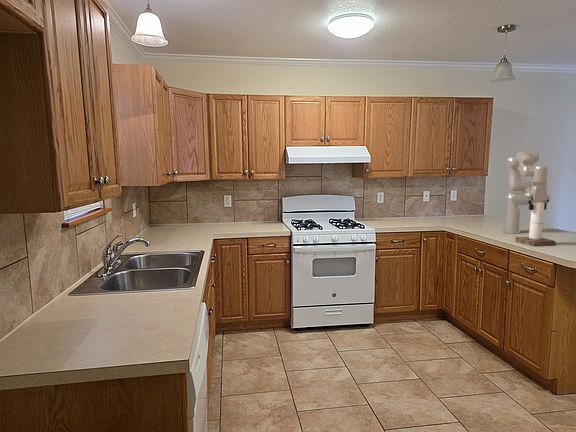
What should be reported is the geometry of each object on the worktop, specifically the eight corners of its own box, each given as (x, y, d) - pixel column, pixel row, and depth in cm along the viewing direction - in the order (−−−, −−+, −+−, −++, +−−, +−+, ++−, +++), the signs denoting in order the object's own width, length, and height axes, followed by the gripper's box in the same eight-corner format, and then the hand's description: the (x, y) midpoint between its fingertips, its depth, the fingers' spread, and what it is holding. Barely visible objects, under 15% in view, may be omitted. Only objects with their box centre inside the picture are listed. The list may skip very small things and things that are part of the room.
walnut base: (515, 241, 261) (515, 236, 261) (535, 240, 264) (536, 235, 263) (533, 246, 246) (534, 241, 245) (554, 245, 248) (555, 240, 248)
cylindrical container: (536, 237, 258) (539, 201, 255) (543, 239, 251) (547, 202, 248) (526, 237, 258) (529, 201, 255) (533, 239, 251) (536, 202, 248)
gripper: (546, 184, 254) (544, 208, 257) (523, 184, 252) (521, 209, 254) (555, 184, 247) (553, 210, 249) (532, 185, 244) (530, 210, 247)
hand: (537, 209), depth 252 cm, fingers open, 9 cm apart
